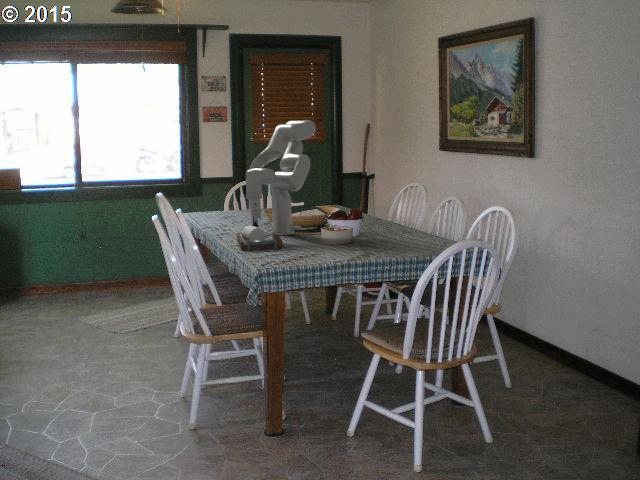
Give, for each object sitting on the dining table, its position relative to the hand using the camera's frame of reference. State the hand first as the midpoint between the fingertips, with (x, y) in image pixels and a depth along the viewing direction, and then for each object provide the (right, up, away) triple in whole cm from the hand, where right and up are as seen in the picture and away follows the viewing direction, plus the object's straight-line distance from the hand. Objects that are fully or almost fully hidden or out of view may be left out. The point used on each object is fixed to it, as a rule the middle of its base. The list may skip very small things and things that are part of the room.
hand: (255, 233), depth 374 cm
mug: (+2, -5, -8) cm, 9 cm away
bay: (+3, -6, -15) cm, 17 cm away
